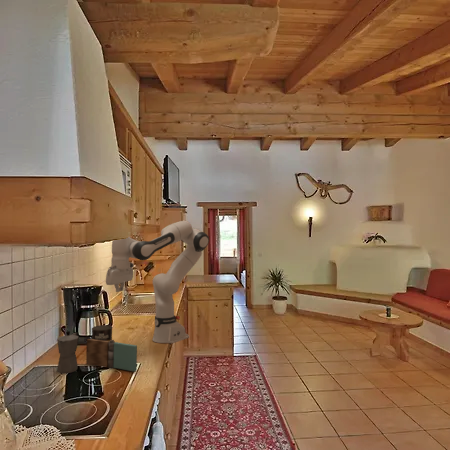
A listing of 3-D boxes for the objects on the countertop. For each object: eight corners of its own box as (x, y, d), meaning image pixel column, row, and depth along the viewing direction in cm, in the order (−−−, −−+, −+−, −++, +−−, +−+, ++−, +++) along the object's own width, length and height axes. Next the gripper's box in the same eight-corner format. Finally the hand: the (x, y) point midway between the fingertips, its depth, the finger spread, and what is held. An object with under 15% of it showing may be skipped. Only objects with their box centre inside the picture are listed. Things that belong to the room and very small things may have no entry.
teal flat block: (106, 367, 172) (107, 342, 172) (111, 364, 175) (111, 340, 175) (133, 372, 166) (134, 346, 166) (137, 369, 169) (137, 345, 169)
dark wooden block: (85, 364, 175) (85, 338, 176) (89, 362, 178) (89, 336, 178) (112, 368, 171) (112, 341, 171) (116, 366, 174) (116, 339, 174)
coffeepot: (68, 376, 162) (69, 336, 162) (49, 374, 163) (50, 334, 163) (86, 363, 177) (87, 326, 177) (69, 362, 178) (69, 325, 178)
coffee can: (111, 356, 187) (112, 329, 187) (90, 358, 184) (90, 330, 184) (112, 350, 196) (112, 324, 197) (92, 351, 194) (92, 325, 194)
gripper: (113, 267, 181) (113, 294, 181) (135, 263, 200) (134, 288, 200) (102, 266, 183) (102, 294, 183) (125, 263, 202) (125, 288, 202)
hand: (119, 291), depth 192 cm, fingers closed
